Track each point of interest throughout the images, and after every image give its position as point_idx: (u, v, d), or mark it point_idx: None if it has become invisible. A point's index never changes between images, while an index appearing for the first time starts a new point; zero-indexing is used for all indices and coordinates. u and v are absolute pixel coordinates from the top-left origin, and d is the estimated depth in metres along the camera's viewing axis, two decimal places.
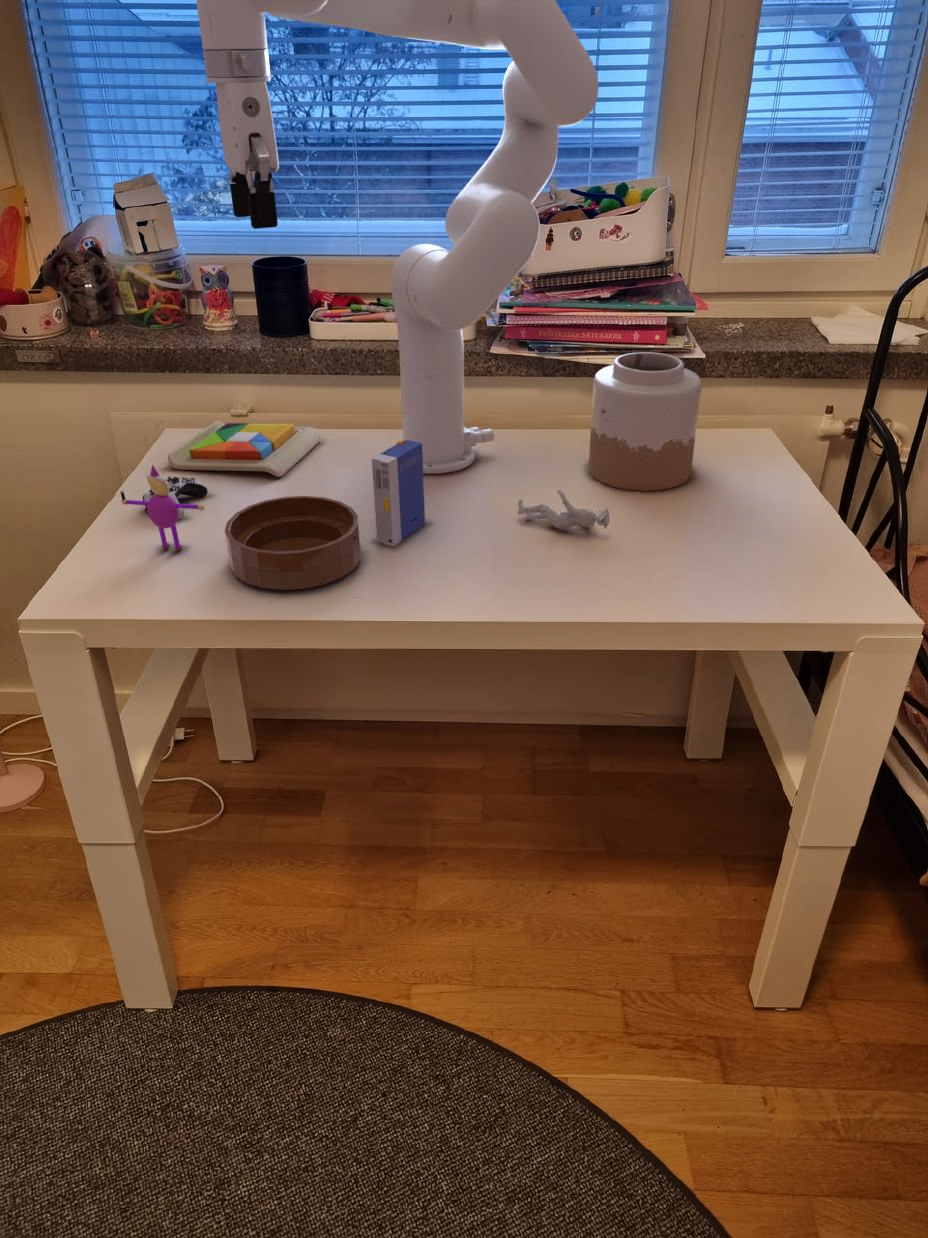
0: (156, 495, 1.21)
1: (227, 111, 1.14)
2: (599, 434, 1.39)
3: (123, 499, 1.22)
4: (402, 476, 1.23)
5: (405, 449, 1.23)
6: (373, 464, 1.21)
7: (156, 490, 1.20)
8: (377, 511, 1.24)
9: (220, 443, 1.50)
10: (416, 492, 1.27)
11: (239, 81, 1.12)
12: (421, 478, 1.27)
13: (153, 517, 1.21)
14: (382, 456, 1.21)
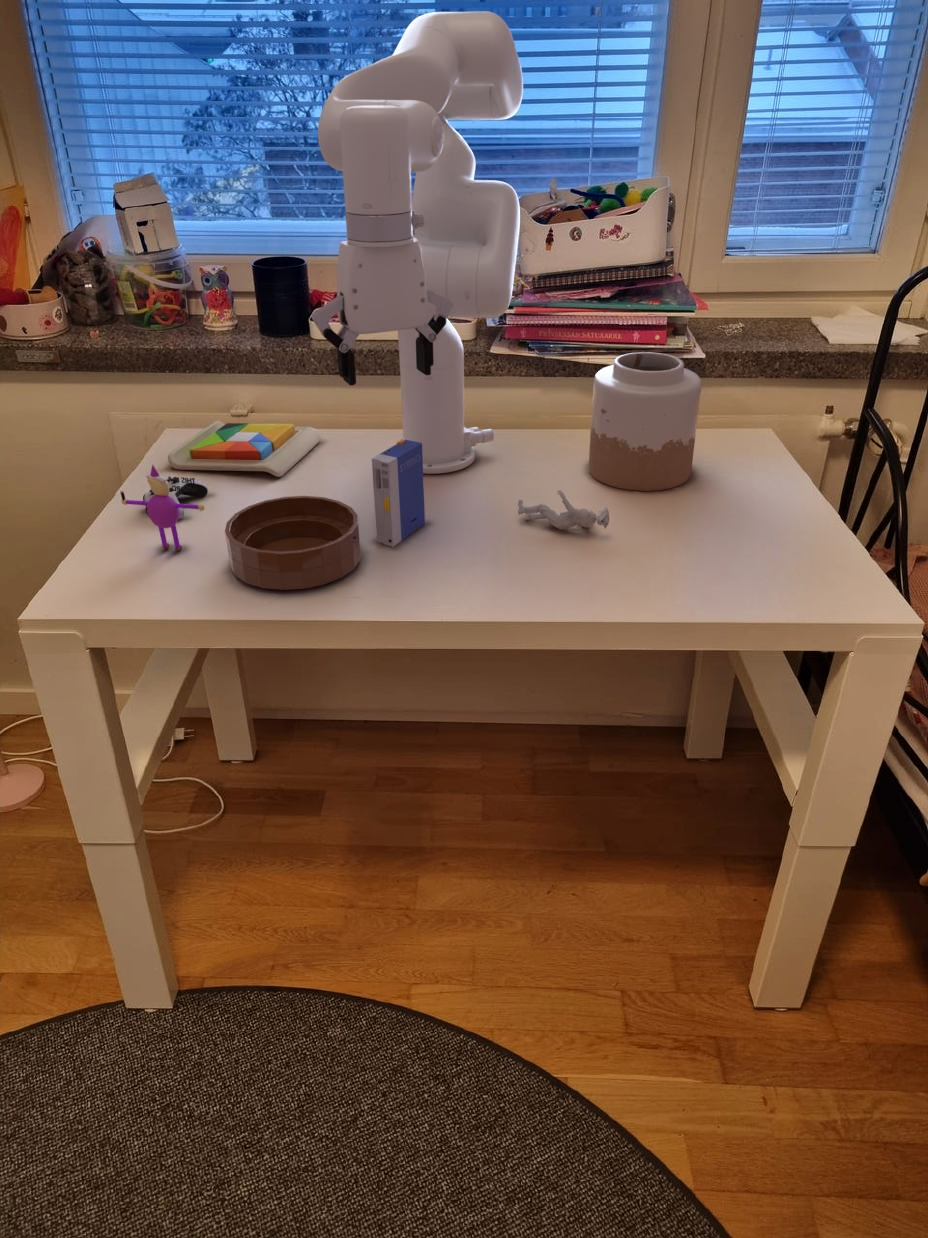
0: (156, 495, 1.21)
1: (409, 270, 1.11)
2: (599, 434, 1.39)
3: (123, 499, 1.22)
4: (402, 476, 1.23)
5: (405, 449, 1.23)
6: (373, 464, 1.21)
7: (156, 490, 1.20)
8: (377, 511, 1.24)
9: (220, 443, 1.50)
10: (416, 492, 1.27)
11: (413, 239, 1.11)
12: (421, 478, 1.27)
13: (153, 517, 1.21)
14: (382, 456, 1.21)
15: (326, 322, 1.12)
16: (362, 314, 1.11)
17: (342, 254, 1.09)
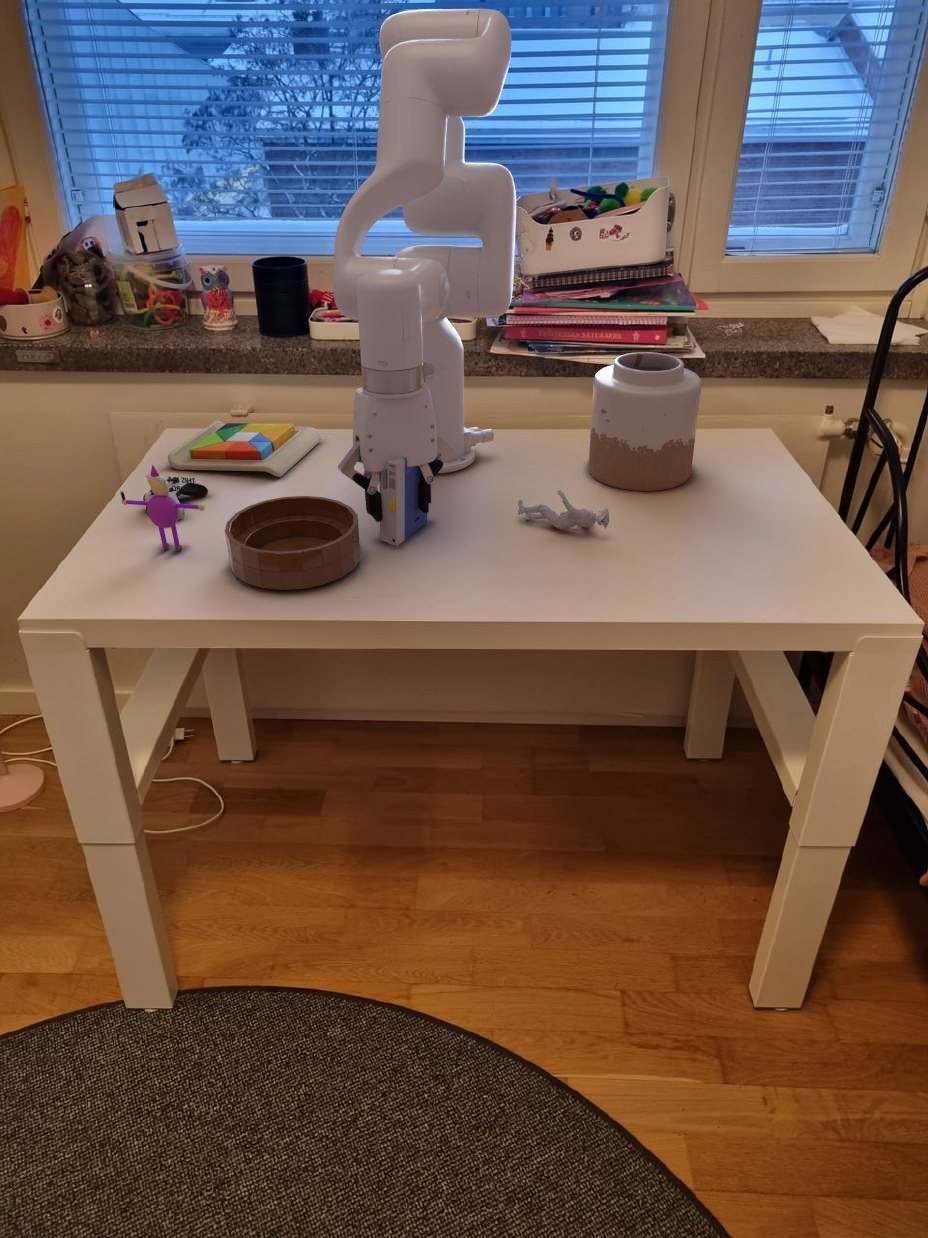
0: (156, 495, 1.21)
1: (420, 415, 1.19)
2: (599, 434, 1.39)
3: (123, 499, 1.22)
4: (408, 476, 1.23)
5: None
6: None
7: (156, 490, 1.20)
8: (382, 510, 1.24)
9: (220, 443, 1.50)
10: None
11: (423, 386, 1.19)
12: None
13: (153, 517, 1.21)
14: None
15: (352, 470, 1.21)
16: (376, 456, 1.19)
17: (358, 402, 1.17)
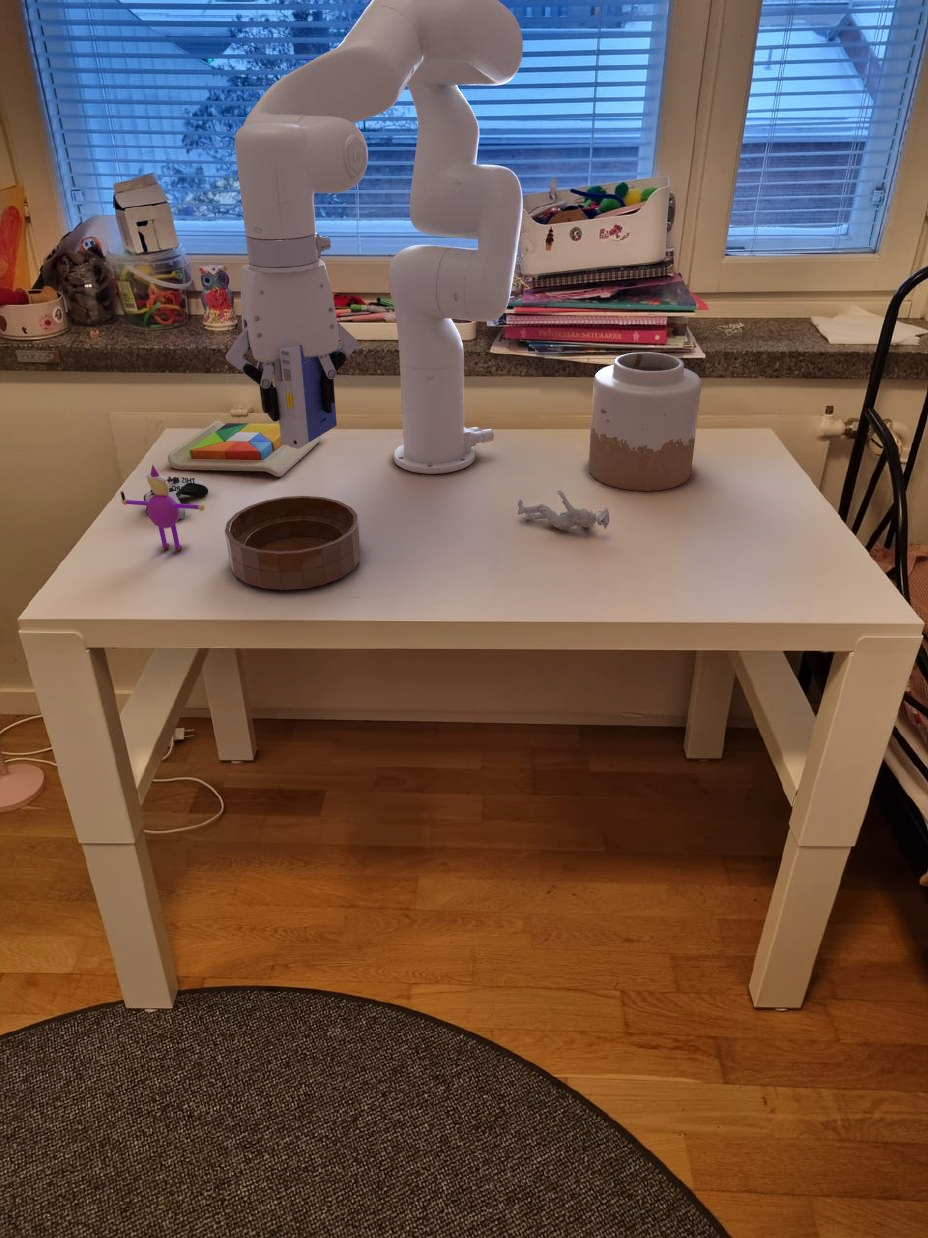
0: (156, 495, 1.21)
1: (315, 296, 1.05)
2: (599, 434, 1.39)
3: (123, 499, 1.22)
4: (307, 367, 1.09)
5: None
6: None
7: (156, 490, 1.20)
8: (280, 408, 1.11)
9: (220, 443, 1.50)
10: None
11: (319, 262, 1.05)
12: None
13: (153, 517, 1.21)
14: None
15: (241, 359, 1.07)
16: (267, 342, 1.06)
17: (243, 280, 1.04)
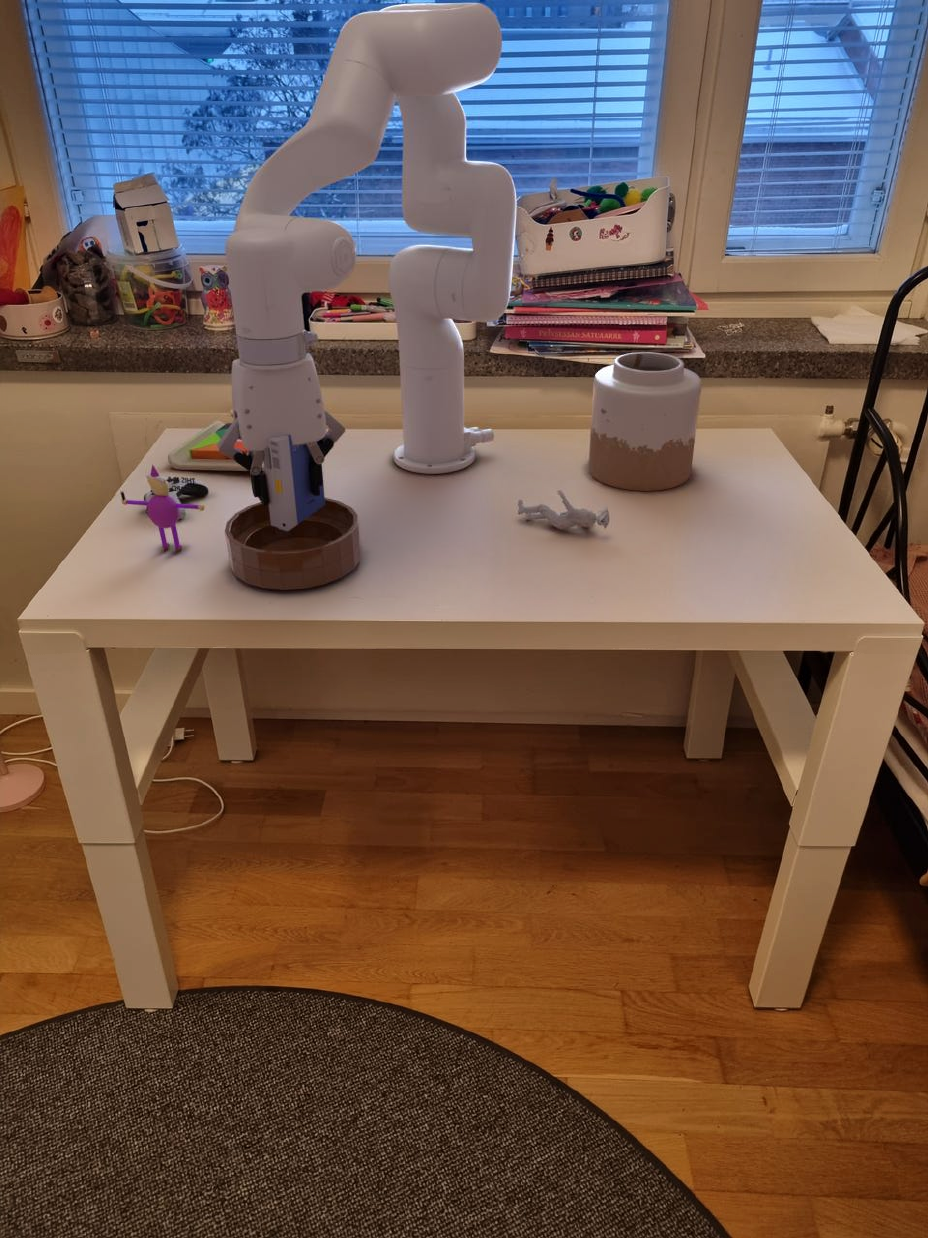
0: (156, 495, 1.21)
1: (303, 389, 1.09)
2: (599, 434, 1.39)
3: (123, 499, 1.22)
4: (295, 455, 1.14)
5: None
6: None
7: (156, 490, 1.20)
8: (269, 493, 1.15)
9: None
10: None
11: (307, 357, 1.09)
12: None
13: (153, 517, 1.21)
14: None
15: (232, 449, 1.11)
16: (256, 433, 1.10)
17: (234, 375, 1.08)
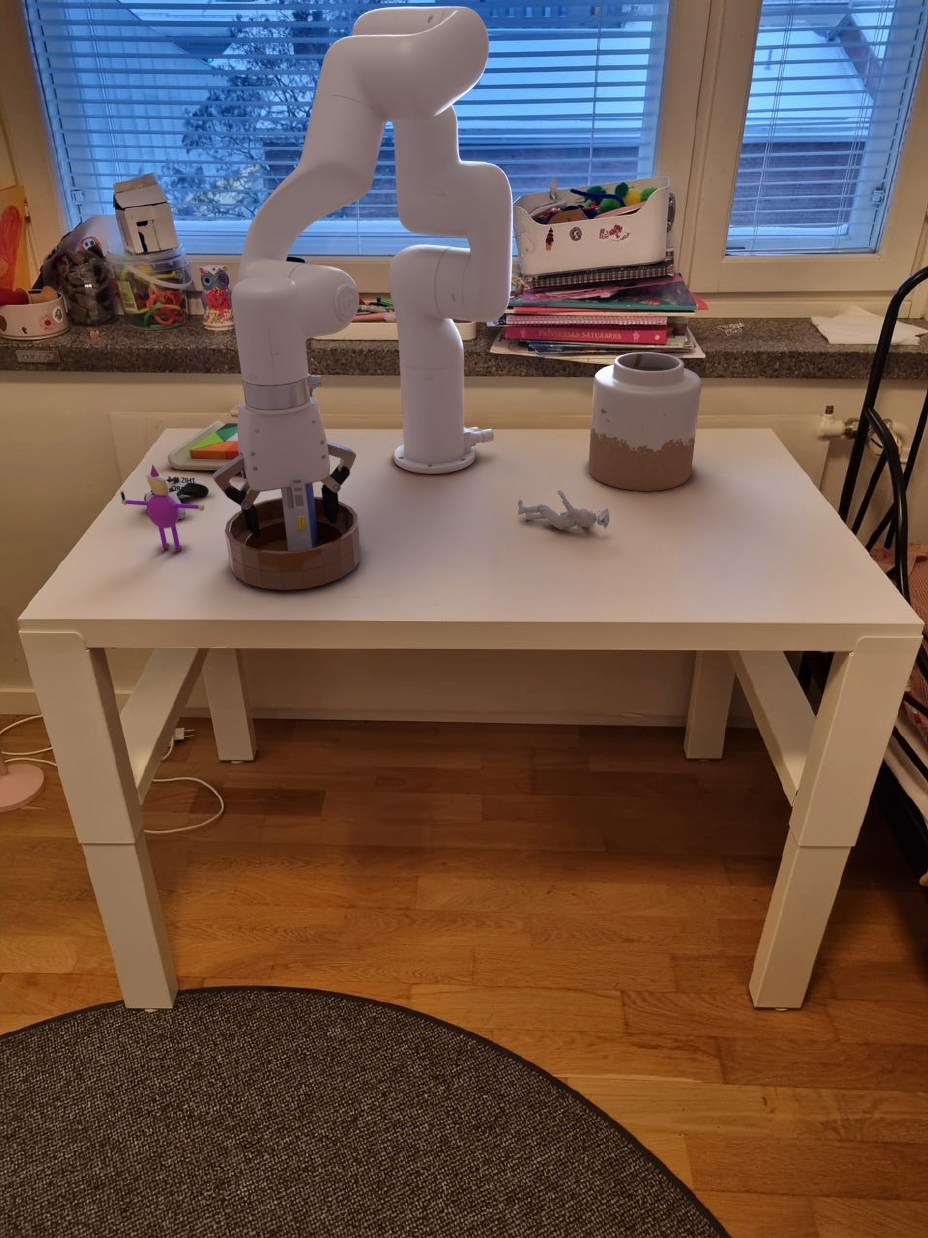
0: (156, 495, 1.21)
1: (308, 431, 1.12)
2: (599, 434, 1.39)
3: (123, 499, 1.22)
4: (307, 490, 1.18)
5: None
6: None
7: (156, 490, 1.20)
8: (289, 532, 1.18)
9: (220, 443, 1.50)
10: (312, 505, 1.22)
11: (311, 399, 1.12)
12: (312, 490, 1.23)
13: (153, 517, 1.21)
14: None
15: (227, 482, 1.13)
16: (262, 474, 1.12)
17: (240, 418, 1.10)
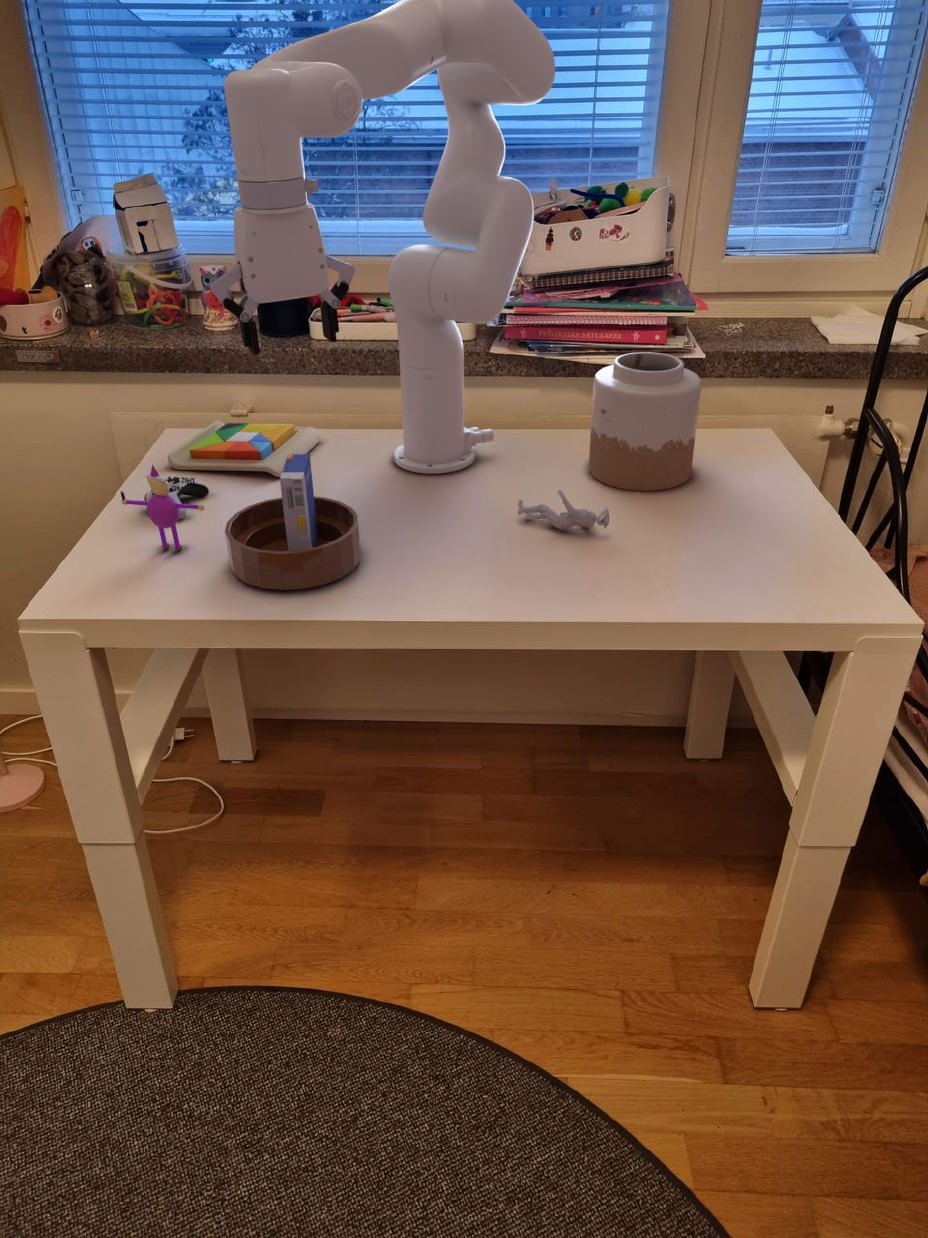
0: (156, 495, 1.21)
1: (306, 237, 1.10)
2: (599, 434, 1.39)
3: (123, 499, 1.22)
4: (307, 490, 1.18)
5: (302, 463, 1.18)
6: (282, 484, 1.15)
7: (156, 490, 1.20)
8: (289, 532, 1.18)
9: (220, 443, 1.50)
10: (312, 505, 1.22)
11: (308, 204, 1.10)
12: (312, 490, 1.23)
13: (153, 517, 1.21)
14: (288, 474, 1.15)
15: (225, 292, 1.11)
16: (260, 283, 1.11)
17: (236, 222, 1.09)
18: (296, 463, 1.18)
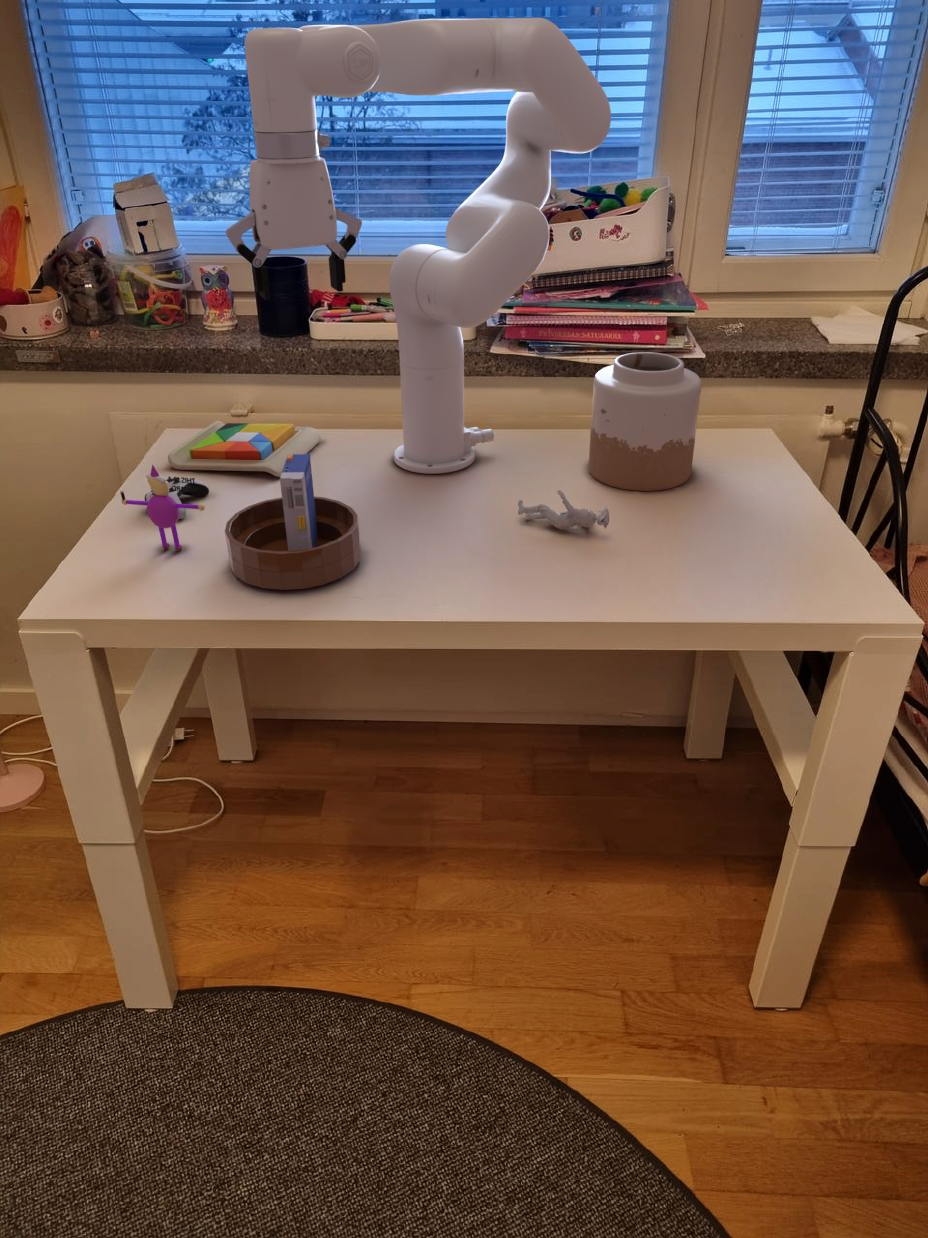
0: (156, 495, 1.21)
1: (316, 188, 1.18)
2: (599, 434, 1.39)
3: (123, 499, 1.22)
4: (307, 490, 1.18)
5: (302, 463, 1.18)
6: (282, 484, 1.15)
7: (156, 490, 1.20)
8: (289, 532, 1.18)
9: (220, 443, 1.50)
10: (312, 505, 1.22)
11: (319, 158, 1.18)
12: (312, 490, 1.23)
13: (153, 517, 1.21)
14: (288, 474, 1.15)
15: (239, 237, 1.19)
16: (273, 230, 1.18)
17: (252, 172, 1.16)
18: (296, 463, 1.18)
